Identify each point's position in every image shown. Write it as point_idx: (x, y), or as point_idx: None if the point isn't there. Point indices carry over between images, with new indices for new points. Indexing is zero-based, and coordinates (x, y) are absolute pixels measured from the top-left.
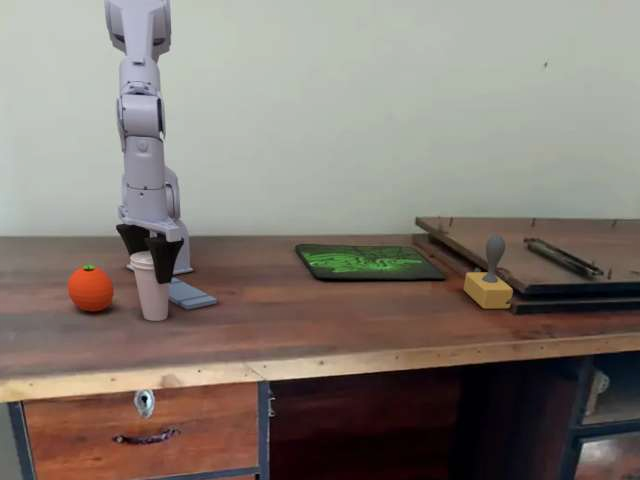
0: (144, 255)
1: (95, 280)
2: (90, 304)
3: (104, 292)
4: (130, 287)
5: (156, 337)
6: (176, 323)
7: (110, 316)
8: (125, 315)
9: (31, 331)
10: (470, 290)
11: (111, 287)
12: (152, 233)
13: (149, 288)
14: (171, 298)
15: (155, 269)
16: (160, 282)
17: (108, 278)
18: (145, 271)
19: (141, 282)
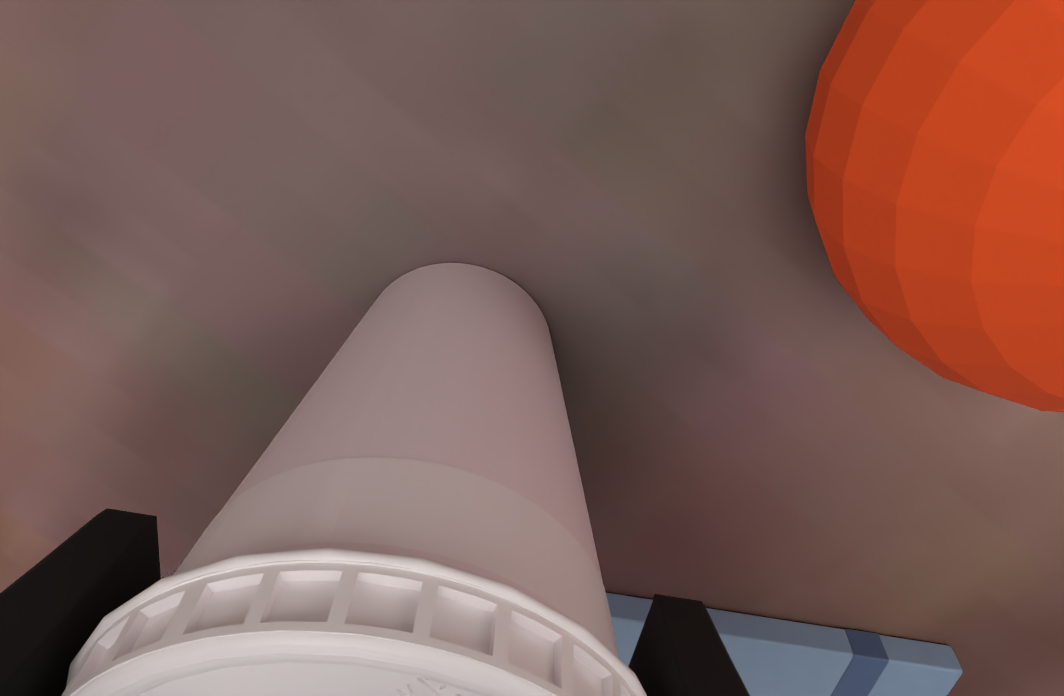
0: None
1: (986, 124)
2: None
3: (831, 142)
4: (1046, 590)
5: (50, 45)
6: (249, 364)
7: (737, 89)
8: (655, 203)
9: None
10: None
11: (852, 286)
12: None
13: (290, 430)
14: (621, 610)
15: (1, 640)
16: (83, 527)
17: (944, 347)
18: (214, 560)
19: (362, 435)
